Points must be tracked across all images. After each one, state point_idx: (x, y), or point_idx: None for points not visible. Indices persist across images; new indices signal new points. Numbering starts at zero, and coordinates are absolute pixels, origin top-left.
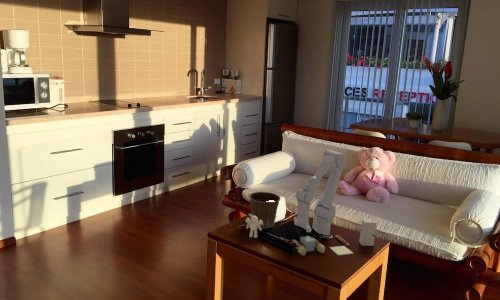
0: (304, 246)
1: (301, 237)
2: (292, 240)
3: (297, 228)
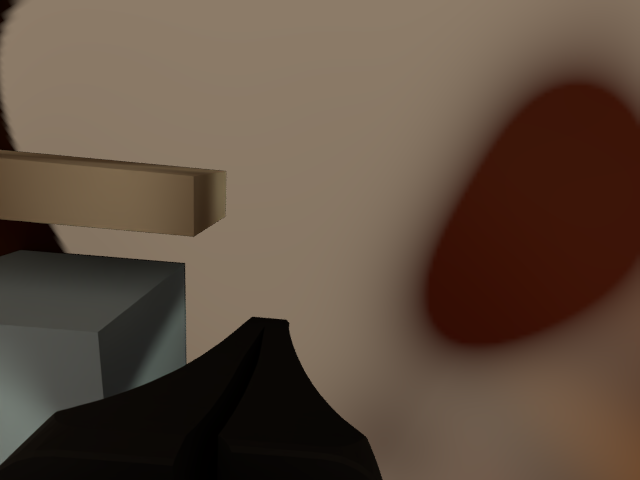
0: (12, 271)
1: (53, 329)
2: (179, 173)
3: (138, 434)
